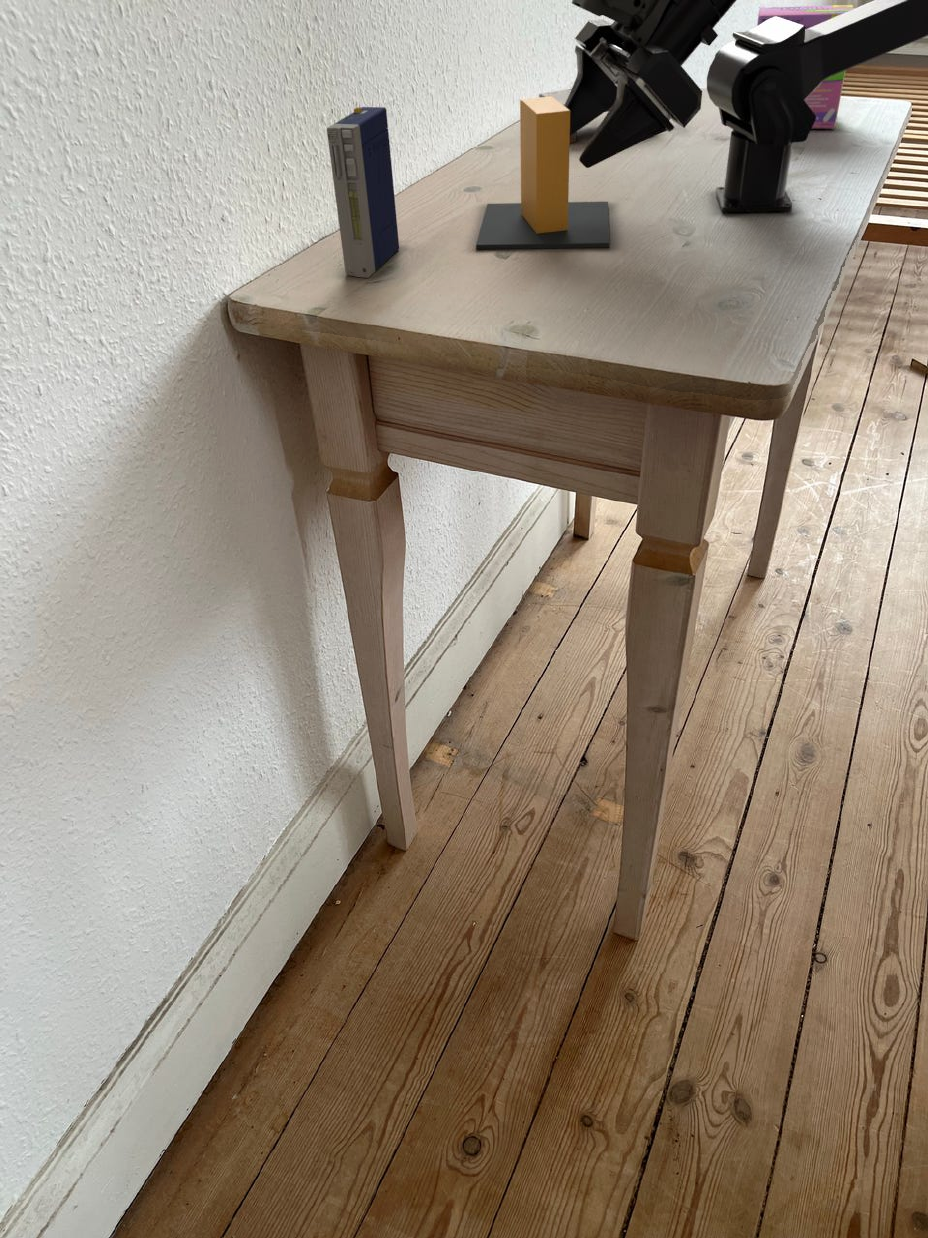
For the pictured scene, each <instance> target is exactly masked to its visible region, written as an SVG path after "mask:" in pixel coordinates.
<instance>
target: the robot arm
mask: <svg viewBox="0 0 928 1238" xmlns="http://www.w3.org/2000/svg"><path fill="white" fill-rule="evenodd" d="M736 2H737V0H572V1H571V4H572V5H574V6H576V7H578V8H580V9H581V10H584V11H587V12H589V13H591V14H593V15H595V16H597V17H602V16H604V17H606V18H608V19H610V20H611V21H613V22H612V23H611V22H609V21H606V20H604V19H601V18H600V19H593V20H588V21H587V22H586V23H585V25H584V26H583V27H582V29H580V31H579V32H578V34H577V35H576V36H575V38H574V39H575V41H576V42H577V44H579V46H578V45H575V48H574V53H575V55H576V68H577V69H576V70H577V73H576V78H575V80H574V82H573V85H572V87H571V88H570V89H571V92H570V94H569V96H568V98H567V101H566V103H565V105H564V106H565V107H566V108H567V109H569V110H570V136H571V135H573V134H574V133H576V134H577V132H578V131H581V129H583V128H584V127H586V126H587V125H589V124H590V123H591V122H593V121H594V120H595V119H597V118H598V117H600V116H601V115H603V114H604V113H606V115H605V116H604V118H603V120H602V122H601V123H600V124H599V126H598V127H597V129H596V130H595V131H594V133H593V135H592V137H590V139H589V141H588V142H587V144H586V146H585V147H584V149H583V151H582V153H581V154H580V156H579V158H578V161H579V163H581V165H583V167H585V168H586V169H590V168H592V167H594V166H596V165H598V164H600V163H602V162H604V161H605V160H607V159H609V158H612V157H614V156H615V155H618V154H619V153H622V152H623V151H625V150H628V149H629V148H631V147H632V148H633V146H636V145H638V144H641V143H643V142H645V141H647V140H649V139H651V138H654V137H656V136H658V135H660V134H663V133H665V132H669V133H671V132H672V131H673V130H674V129H675V126H674V125H673V123H672V122H671V121H673V122H674V123H676V124H677V125H679V126H681V127H682V128H684V129H685V128H686V127H687V126H688V124H689V123H690V122H691V121H692V120H693V119H694V118H695V116H696V115H697V114H698V113H699V112H700V111H701V109H702V99H703V90H702V89H701V88H700V87H699V85H698V84H697V83H696V82H695V81H694V79H693V78H692V77H691V76H690V75H689V74H688V72H687V71H686V69H685V68H684V67H683V65H684V64H685V62H687V60H688V59H689V58H690V56H691V55H693V53H694V52H695V51H696V49H697V48H698V47H699V46H700V45H701V43H702V44H704V45H706V46H708V47H709V46H711V45H712V44H713V42H714V41H715V40H716V39H717V37H719V34H718V33H717V32H716V30H715V29H714V28H715V27H716V26H717V25H718V23H719V22H720V20H722V18H723V17H725V15H726V13H728V11H729V10H730V9H731V7H733V5H734V4H735V3H736ZM731 36H732V37H733V39H734V40H733V41H730V42H728V43H727V44H725V45H724V46H722V47H721V48H719V50H718V51H716V53H715V55H714V58H713V60H712V62H711V64H710V66H709V68H708V71H707V76H706V92H707V94H708V97H709V99H710V101H711V102H712V104H714V106H715V107H717V108H718V111H719V115H720V121H721V124H722V126H725V127H727V128H730V129H732V131H730V139H729V147H728V153H727V163H726V169H725V170H726V171H725V179H724V186H718V187H716V189H715V194H716V197H717V200H718V204H719V207H720V210H721V212H724V213H741V212H746V213H747V212H748V213H750V212H790V211H792V210H793V203H792V201H791V199H790V196H789V195H788V193H787V191H786V188H787V181H788V175H789V169H790V163H791V158H792V152H793V151H792V150H793V146H794V143H803V142H804V143H805V142H806V141H807V139H808V137H809V136H810V133H811V131H812V127H813V124H814V122H815V120H816V115H815V114H814V113H813V111H812V110H811V109H810V107H809V106H808V105H807V103H806V102H805V101H804V100H805V99H806V98H807V97H808V96H809V95H810V94H811V93H812V92H813V91H814V90H815V89H816V88H817V87H818V85H819V84H820V83H821V82H823V81H824V80H826V79H827V78H829V77H831V76H834V75H836V74H838V73H841V72H843V71H845V70H846V71H847V70H850V69H852V68H855V67H857V66H859V65H862V64H864V63H867V62H869V61H872V60H874V59H876V58H879V57H881V56H882V55H886V54H888V53H890V52H893V51H895V50H897V49H900V48H902V47H904V46H907V45H910V44H911V43H914V42H916V41H919V40H921V39H923V38H926V37H928V0H871V1H869V2H867V3H865V4H862V5H860V6H859V5H858V6H857V7H854V9H852V10H850V11H848V12H845V13H843V14H841V15H838V16H836V17H834V18H831V19H829V20H827V21H824V22H822V23H820V24H817V25H815V26H813V27H810V28H808V29H805V26H804V25H801V24H798V23H795V22H792V21H789V20H786V19H783V18H780V17H777V16H775V17H773V18H770V19H768V20H766V21H765V22H763V23H762V24H760V25H758V26H757V25H756V27H753V28H751V29H749V30H745V31H734V32H733V33H732V35H731ZM846 71H845V72H846ZM615 84H616V85H617V86H616V85H615ZM610 108H611V109H610ZM608 109H610V110H609V112H605V111H607V110H608Z"/></svg>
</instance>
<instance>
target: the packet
mask: <svg viewBox="0 0 928 1238" xmlns="http://www.w3.org/2000/svg"><path fill="white" fill-rule="evenodd" d="M519 109H520V110H519V112H520V113H519V121H520V122H519V124H520V125H519V128H520V131H519V132H520V203H521V215H522V216H523V217H524V218H525V220H526V221H527V222H528V223H529V225H530V226H531V227H532V228H533V230H534V231H535V232H536V234H540V233H548V232H557V231H565V230H568V202H569V195H570V193H569V191H570V190H569V189H570V188H569V187H570V147H571V145H570V144H571V143H570V110H569V109H567V108H566V107H565V106H564V105H562V104H561V103H560V102H558V101H557V100H556V99H555V98H553V97H552V96H550V97H540V98H539V97H530V98H521V99H520V100H519Z"/></svg>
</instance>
